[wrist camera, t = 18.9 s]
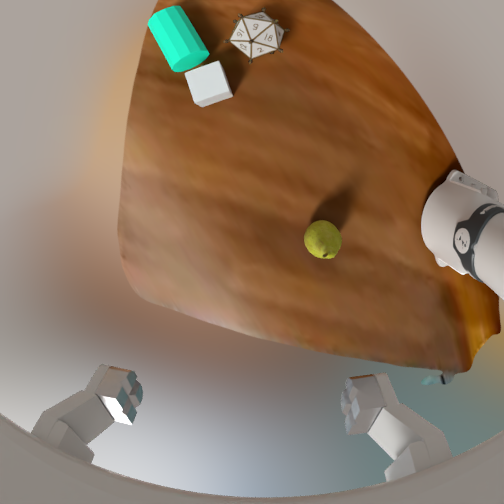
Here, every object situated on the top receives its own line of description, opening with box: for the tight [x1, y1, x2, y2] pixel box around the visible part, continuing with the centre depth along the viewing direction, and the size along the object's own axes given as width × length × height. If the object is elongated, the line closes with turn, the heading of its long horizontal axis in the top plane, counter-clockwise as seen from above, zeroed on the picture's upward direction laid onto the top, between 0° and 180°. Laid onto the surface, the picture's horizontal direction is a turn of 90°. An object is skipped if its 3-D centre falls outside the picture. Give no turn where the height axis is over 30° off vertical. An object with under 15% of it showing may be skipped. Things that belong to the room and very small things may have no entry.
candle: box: [148, 6, 209, 72], centre depth 29 cm, size 6×6×12 cm
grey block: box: [185, 61, 233, 107], centre depth 33 cm, size 5×5×5 cm
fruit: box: [304, 220, 342, 258], centre depth 38 cm, size 6×6×12 cm
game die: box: [223, 7, 290, 64], centre depth 29 cm, size 9×8×10 cm
